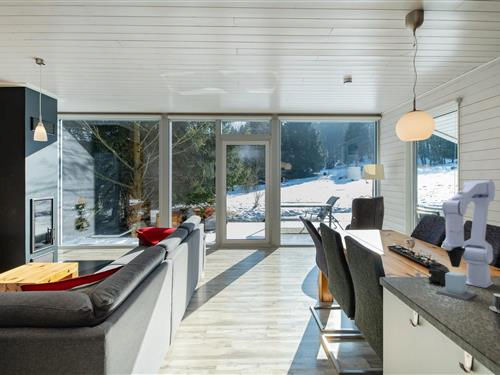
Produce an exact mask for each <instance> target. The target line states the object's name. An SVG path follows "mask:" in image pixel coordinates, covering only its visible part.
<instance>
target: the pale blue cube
mask: <svg viewBox="0 0 500 375" xmlns="http://www.w3.org/2000/svg"><path fill="white" fill-rule="evenodd" d="M449 271H450V272H448V273H446V274H445V284H444V285H445V286H446V291H448V292H453V293H457V294H463V293H465V292H466V290H467V284H466V281H467V273H461V272H456V271H451V270H449ZM445 286H444V287H445Z"/></svg>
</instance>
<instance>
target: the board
mask: <svg viewBox="0 0 500 375" xmlns="http://www.w3.org/2000/svg"><path fill="white" fill-rule="evenodd" d="M435 291H436V294H438V295H441V296H446V297H450V298H455V299H460V300H463V301H468V300H469V299H471V298H473V297H475V296H476V295H477V291H476V290H469V289H466V292H465V293H463V294H457V293H453V292H448V291H446V286H443V287H442V288H439V289H437V290H435Z"/></svg>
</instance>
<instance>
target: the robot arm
mask: <svg viewBox="0 0 500 375" xmlns="http://www.w3.org/2000/svg"><path fill="white" fill-rule="evenodd" d="M462 188H463V189H462V190H461V191H459V190H458V191H457V192H456V193H455V194H454V195H453V196H452V197H451V198H450V199H447V200H445V201H443V203H442V207H441V210H442V213H443V219H444V220H445V241H444V240H443V241H442V244H444V251H445V252H446V254H447V256H448V258H449V262H450V265H451V267H452V268H460V266H461V261H462V260H463V261H464V262H465V263H466V285H470V286H473V287H479V288H484V289H486V288H488V287H490V286H492V285H493V284H494V283H493V282H491V268H490V264H491V263H492V262H493V259H494V252H493V251H494V250H493V246H492V244H490V243H489V242H487V240H486V234H487V232H486V231H487V222H488V214H489V206H490V203H491V202H493V201H494V199H495V193H496V186H495V182H494V181H493V180H492V179H488V180H487V179H486V180H485V179H484V180H483V179H482V180H481V179H479V180H465V181H464V183H463V186H462ZM472 202H473V203H474V206H473V214H472V224H471V233H470V238H469V239H467V240H465V233H464V232H465V230H464V229H465V228H464V216H465V215H466V212H467V209H468V206H469V205H470V204H471V203H472Z"/></svg>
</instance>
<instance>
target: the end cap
mask: <svg viewBox="0 0 500 375" xmlns="http://www.w3.org/2000/svg"><path fill="white" fill-rule="evenodd" d="M450 271H451V270H450V269H449V267H447V266H446V265H443V264H441V265H440V266H439V265H432V264H431V265H430V266H429V268H428V274H429V275H430V276H428V281H429V282H428V284H429V285H435V286H443V285H445V274H446V273H448V272H450Z"/></svg>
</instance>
